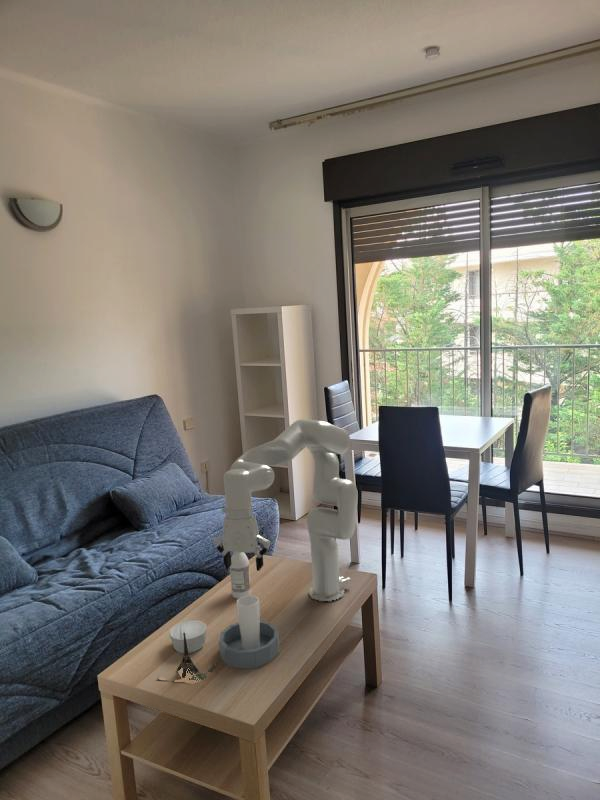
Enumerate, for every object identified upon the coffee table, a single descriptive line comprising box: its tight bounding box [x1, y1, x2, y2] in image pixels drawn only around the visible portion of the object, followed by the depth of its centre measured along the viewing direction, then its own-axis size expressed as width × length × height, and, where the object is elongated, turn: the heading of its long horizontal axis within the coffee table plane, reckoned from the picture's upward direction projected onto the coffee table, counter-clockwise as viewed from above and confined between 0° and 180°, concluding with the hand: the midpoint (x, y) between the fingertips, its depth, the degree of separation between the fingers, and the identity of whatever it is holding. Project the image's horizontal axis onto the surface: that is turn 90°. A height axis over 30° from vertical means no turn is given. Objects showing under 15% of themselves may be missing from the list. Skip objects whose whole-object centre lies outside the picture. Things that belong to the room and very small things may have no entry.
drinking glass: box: [235, 594, 261, 650], centre depth 173 cm, size 7×7×15 cm
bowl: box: [218, 619, 280, 670], centre depth 173 cm, size 17×17×5 cm
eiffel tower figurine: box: [176, 633, 217, 681], centre depth 164 cm, size 15×10×13 cm
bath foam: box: [229, 552, 252, 600], centre depth 208 cm, size 7×7×20 cm
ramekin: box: [169, 619, 208, 654], centre depth 178 cm, size 11×11×5 cm
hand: (243, 567), depth 170 cm, fingers open, 9 cm apart
